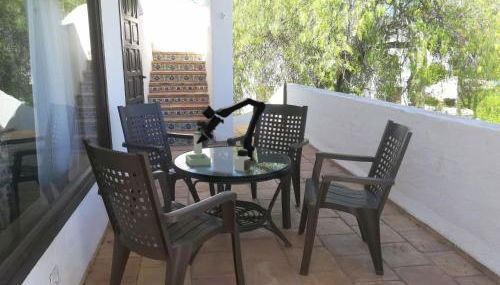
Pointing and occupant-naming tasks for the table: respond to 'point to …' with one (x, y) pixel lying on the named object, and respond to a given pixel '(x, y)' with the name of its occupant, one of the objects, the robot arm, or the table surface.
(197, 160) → the tote
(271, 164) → the table surface
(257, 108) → the robot arm
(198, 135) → the canister
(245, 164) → the medicine bottle
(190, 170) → the table surface
